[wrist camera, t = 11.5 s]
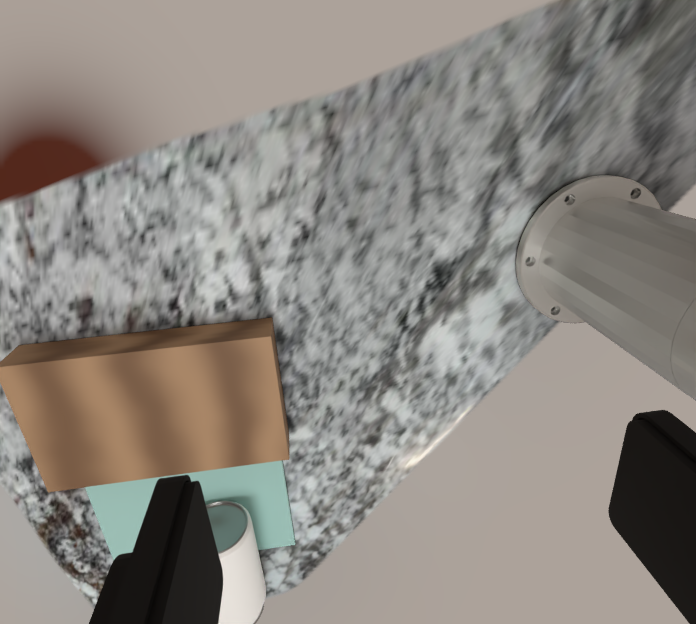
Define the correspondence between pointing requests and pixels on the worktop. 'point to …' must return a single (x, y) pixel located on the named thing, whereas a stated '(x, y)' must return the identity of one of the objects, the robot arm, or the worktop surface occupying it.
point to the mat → (217, 485)
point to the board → (149, 403)
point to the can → (237, 563)
